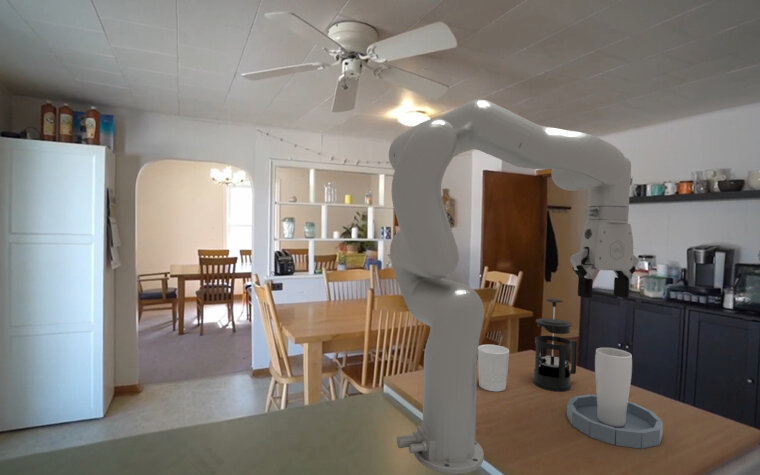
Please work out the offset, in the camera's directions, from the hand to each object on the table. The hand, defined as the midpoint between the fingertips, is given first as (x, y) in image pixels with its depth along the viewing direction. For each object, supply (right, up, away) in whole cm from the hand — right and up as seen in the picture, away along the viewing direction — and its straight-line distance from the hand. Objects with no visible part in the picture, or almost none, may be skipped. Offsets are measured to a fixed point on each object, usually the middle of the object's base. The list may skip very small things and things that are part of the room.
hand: (603, 296), depth 85 cm
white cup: (-18, -27, +20) cm, 38 cm away
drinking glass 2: (+2, -27, 0) cm, 27 cm away
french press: (-1, -27, +22) cm, 35 cm away
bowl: (+2, -28, 0) cm, 28 cm away
